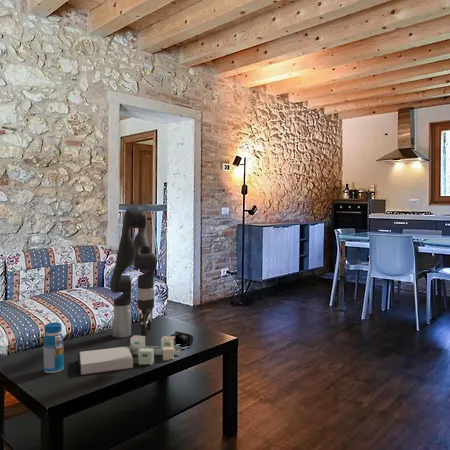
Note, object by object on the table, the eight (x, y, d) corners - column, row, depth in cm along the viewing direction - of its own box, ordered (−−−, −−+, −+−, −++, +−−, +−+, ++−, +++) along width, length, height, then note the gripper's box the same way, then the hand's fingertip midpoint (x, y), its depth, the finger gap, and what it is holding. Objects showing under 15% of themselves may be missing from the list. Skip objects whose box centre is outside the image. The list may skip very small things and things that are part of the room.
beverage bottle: (42, 374, 177) (41, 327, 176) (44, 367, 185) (43, 322, 184) (63, 372, 179) (62, 326, 179) (65, 365, 187) (64, 321, 187)
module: (138, 364, 188) (138, 351, 188) (140, 361, 193) (140, 348, 192) (151, 364, 188) (151, 351, 188) (153, 361, 192) (153, 348, 192)
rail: (124, 354, 201) (124, 338, 200) (129, 349, 208) (129, 334, 207) (178, 356, 199) (178, 340, 199) (180, 351, 206) (180, 335, 206)
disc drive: (77, 362, 193) (77, 351, 193) (127, 355, 201) (127, 345, 201) (79, 376, 176) (78, 364, 176) (133, 368, 184) (132, 357, 184)
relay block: (162, 360, 193) (162, 349, 193) (163, 357, 197) (163, 346, 197) (173, 360, 194) (173, 349, 194) (174, 357, 198) (173, 346, 198)
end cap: (193, 346, 213) (193, 333, 213) (184, 350, 208) (184, 336, 207) (179, 342, 219) (179, 329, 219) (169, 346, 214) (169, 333, 213)
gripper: (141, 294, 197) (142, 328, 197) (133, 300, 182) (133, 337, 183) (157, 294, 196) (157, 328, 197) (150, 301, 182) (150, 338, 183)
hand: (146, 333), depth 190 cm, fingers open, 8 cm apart
